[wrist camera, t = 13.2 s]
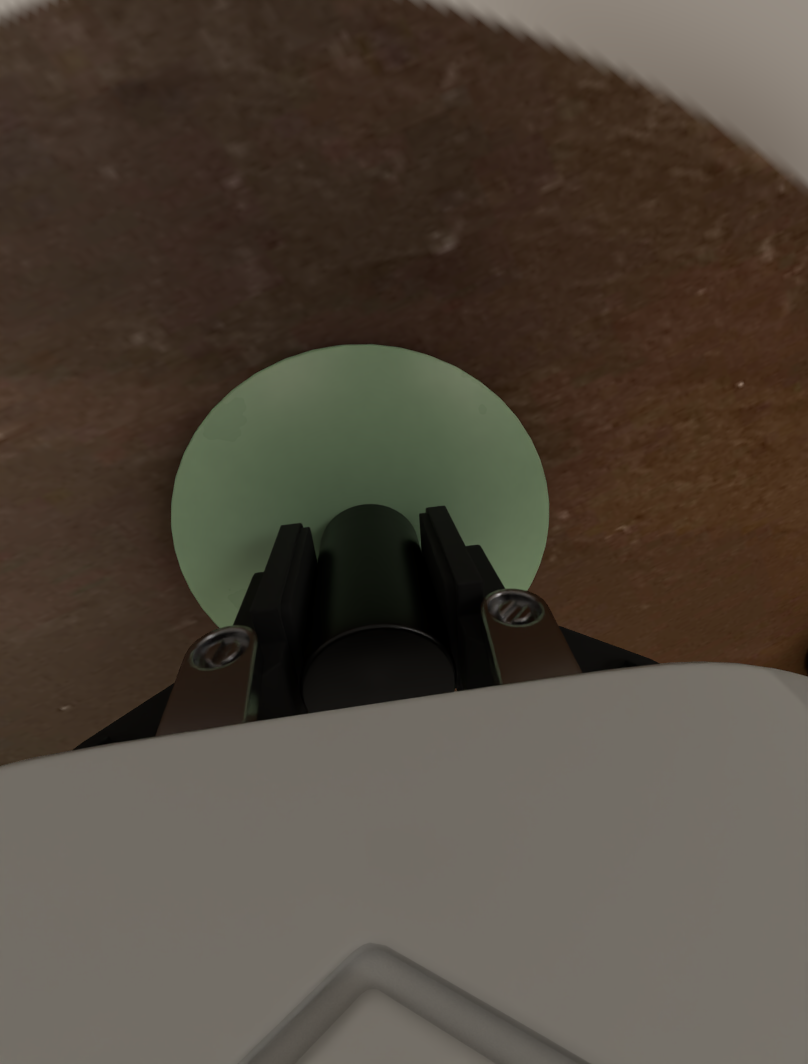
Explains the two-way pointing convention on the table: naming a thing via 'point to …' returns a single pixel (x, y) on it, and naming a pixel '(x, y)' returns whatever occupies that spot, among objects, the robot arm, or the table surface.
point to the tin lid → (358, 506)
